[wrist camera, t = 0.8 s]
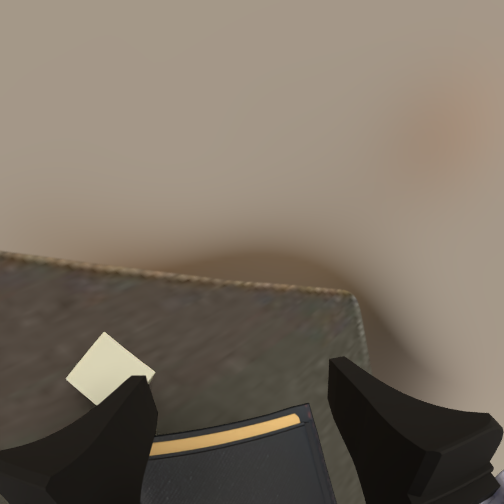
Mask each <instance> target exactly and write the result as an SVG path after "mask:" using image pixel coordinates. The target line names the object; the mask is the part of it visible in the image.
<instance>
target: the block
mask: <svg viewBox="0 0 504 504" xmlns="http://www.w3.org/2000/svg"><path fill="white" fill-rule="evenodd" d="M154 374H155V371H153V370H152V369H151V368H149V367H148V366H147V365H145V364H144V363H143V362H141V361H140V360H139V359H137V358H136V357H135V356H133V355H132V354H131V353H130V352H128V351H127V350H126V349H125V348H123V347H122V346H121V345H120V344H118V343H117V342H116V341H115V340H114V339H112V338H111V337H110V336H109V335H108V334H106V333H105V332H103V334H102V335H101V336H100V337H99V338H98V340H97V341H96V342H95V343H94V344H93V346H92V347H91V348H90V349H89V350H88V352H87V353H86V354H85V355H84V357H83V358H82V359H81V360H80V362H79V363H78V364H77V365H76V367H75V368H74V369H73V370H72V372H71V373H70V374H69V375H68V377H67V378H66V380H68V381H69V382H70V383H71V384H72V385H73V386H74V387H75V388H77V389H78V390H79V391H80V392H81V393H82V394H83V395H85V396H86V397H87V398H88V399H89V400H91V401H92V402H93V403H94V404H96V405H98V404H99V403H101V402H102V401H103V400H104V399H105V398H106V397H108V396H109V395H110V394H111V393H112V392H113V391H114V390H115V389H117V388H118V387H119V386H120V385H121V384H122V383H123V382H124V381H126V380H127V379H128V378H129V377H130V376H132V375H146V378H147V381H148V384H150V382H151V380H152V378H153V376H154Z"/></svg>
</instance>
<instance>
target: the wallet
mask: <svg viewBox="0 0 504 504" xmlns="http://www.w3.org/2000/svg"><path fill="white" fill-rule="evenodd" d="M140 504H337V503H336V499H335V495H334V492H333V488H332V485H331V481H330V478H329V474H328V471H327V467H326V463H325V460H324V456H323V452H322V448H321V444H320V440H319V436H318V432H317V429H316V426H315V422H314V419H313V416H312V412H311V408H310V405H309V403H306V404H302V405H298V406H293V407H290V408H287V409H284V410H280V411H277V412H274V413H271V414H267V415H263V416H259V417H255V418H251V419H247V420H243V421H238V422H234V423H229V424H224V425H219V426H214V427H209V428H203V429H198V430H192V431H186V432H179V433H172V434H165V435H157V436H155V437H154V441H153V444H152V448H151V451H150V455H149V459H148V462H147V466H146V469H145V473H144V477H143V482H142V489H141V498H140Z"/></svg>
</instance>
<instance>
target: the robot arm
mask: <svg viewBox="0 0 504 504" xmlns="http://www.w3.org/2000/svg"><path fill="white" fill-rule="evenodd" d="M328 401H329V405H330V408H331V412H332V415H333V418H334V420H335V423H336V425H337V427H338V429H339V431H340V434H341V436H342V438H343V440H344V442H345V444H346V446H347V449H348V451H349V453H350V455H351V457H352V460H353V462H354V465H355V467H356V470H357V474H358V477H359V480H360V483H361V487H362V490H363V494H364V497H365V501H366V504H504V470H503V471H501V472H500V473H499V474H498V475H497V476H496V477H494V476H493V475H492V474H491V472H492V471H493V469H494V467H493V466H492V464H491V463H490V460H491V458H492V457H493V455H494V453H495V452H496V450H497V448H498V446H499V444H500V442H501V440H502V436H503V428H502V427H501V426H500V425H499V423H498V422H497V421H496V420H495V419H494V418H493V417H492V416H491V415H490V414H489V413H477V412H465V411H459V410H453V409H448V408H444V407H440V406H436V405H433V404H430V403H426V402H423V401H421V400H418V399H415V398H413V397H411V396H408V395H406V394H403V393H402V392H399V391H398V390H396V389H394V388H392V387H390V386H388V385H386V384H385V383H383V382H381V381H380V380H378V379H376V378H375V377H373V376H372V375H370V374H369V373H367V372H366V371H364V370H363V369H362V368H360V367H359V366H357V365H356V364H354V363H353V362H352V361H350V360H349V359H347V358H346V357H344V356H343V357H338V358H332V359H329V381H328ZM157 417H158V412H157V409H156V406H155V403H154V400H153V397H152V394H151V391H150V387H149V384H148V381H147V378H146V375H132V376H130V377H129V378H128V379H127V380H126V381H124V382H123V383H122V384H121V385H120V386H119V387H118V388H117V389H115V390H114V391H113V392H112V393H111V394H110V395H109V396H108V397H106V398H105V399H104V400H103V401H102V402H101V403H99V404H98V405H97V406H96V407H94V408H93V409H92V410H90V411H89V412H88V413H87V414H85V415H84V416H83V417H81V418H80V419H78V420H77V421H75V422H74V423H72V424H70V425H69V426H67V427H65V428H63V429H61V430H59V431H57V432H55V433H53V434H51V435H49V436H47V437H45V438H43V439H40V440H38V441H35V442H32V443H29V444H26V445H23V446H19V447H15V448H10V449H6V450H1V451H0V494H1V495H2V496H3V497H4V498H5V499H6V500H7V501H8V502H9V503H10V504H140V498H141V489H142V482H143V477H144V473H145V469H146V466H147V462H148V459H149V455H150V451H151V448H152V444H153V441H154V437H155V433H156V426H157Z"/></svg>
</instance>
